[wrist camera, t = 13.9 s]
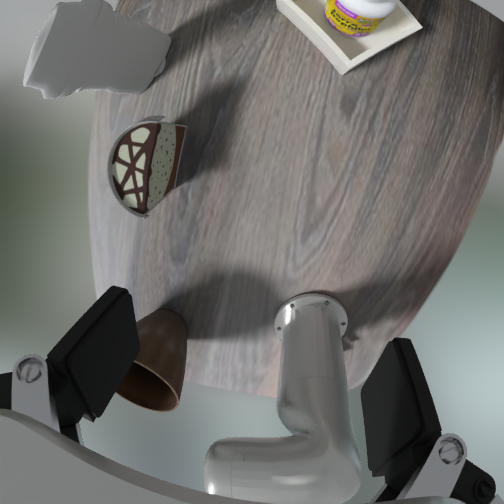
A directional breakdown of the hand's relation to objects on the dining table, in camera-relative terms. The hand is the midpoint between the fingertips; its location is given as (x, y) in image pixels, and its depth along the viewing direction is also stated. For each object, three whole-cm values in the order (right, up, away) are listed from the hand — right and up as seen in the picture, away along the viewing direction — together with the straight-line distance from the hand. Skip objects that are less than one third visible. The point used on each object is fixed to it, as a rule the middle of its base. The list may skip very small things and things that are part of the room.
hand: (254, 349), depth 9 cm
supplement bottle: (+12, +33, +14) cm, 38 cm away
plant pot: (-16, -11, +42) cm, 47 cm away
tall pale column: (-14, +30, +21) cm, 39 cm away
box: (+12, +33, +15) cm, 39 cm away
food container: (-13, +17, +27) cm, 35 cm away
